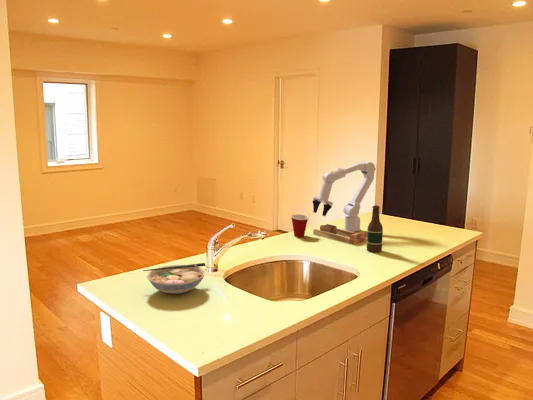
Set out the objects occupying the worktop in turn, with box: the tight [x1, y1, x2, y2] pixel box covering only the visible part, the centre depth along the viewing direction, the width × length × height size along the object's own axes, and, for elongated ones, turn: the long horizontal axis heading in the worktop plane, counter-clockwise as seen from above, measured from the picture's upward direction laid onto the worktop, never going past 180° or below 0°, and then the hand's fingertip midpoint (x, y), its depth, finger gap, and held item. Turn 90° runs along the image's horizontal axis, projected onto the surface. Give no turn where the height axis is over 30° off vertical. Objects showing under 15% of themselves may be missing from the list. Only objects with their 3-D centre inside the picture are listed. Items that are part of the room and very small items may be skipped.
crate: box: [319, 223, 338, 235], centre depth 273 cm, size 7×7×5 cm
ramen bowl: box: [142, 262, 206, 295], centre depth 181 cm, size 25×23×8 cm
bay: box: [312, 227, 367, 245], centre depth 266 cm, size 13×30×5 cm, turn 40°
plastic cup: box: [290, 214, 310, 238], centre depth 268 cm, size 11×11×12 cm
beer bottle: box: [366, 205, 384, 254], centre depth 237 cm, size 8×8×24 cm
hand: (319, 214), depth 276 cm, fingers open, 7 cm apart
